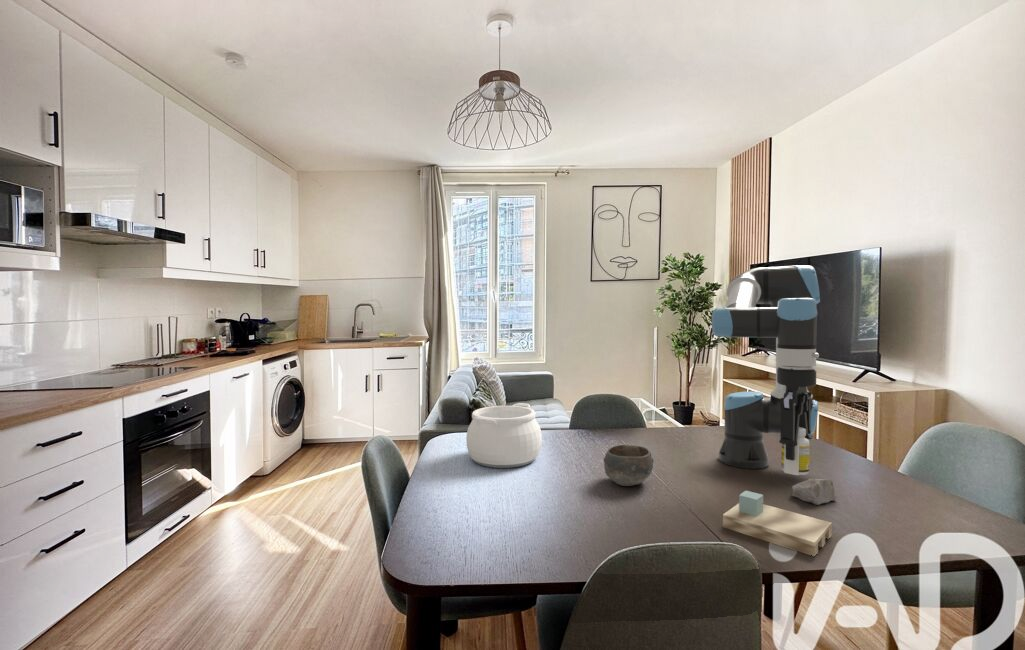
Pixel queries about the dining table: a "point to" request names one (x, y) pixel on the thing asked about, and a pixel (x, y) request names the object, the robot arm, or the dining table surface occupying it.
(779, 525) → the pallet
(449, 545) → the dining table surface
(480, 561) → the dining table surface
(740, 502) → the pale blue cube
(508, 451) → the pot
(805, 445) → the supplement bottle
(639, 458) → the bowl
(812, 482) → the stone
